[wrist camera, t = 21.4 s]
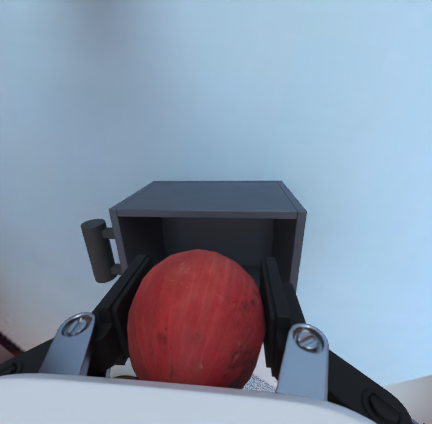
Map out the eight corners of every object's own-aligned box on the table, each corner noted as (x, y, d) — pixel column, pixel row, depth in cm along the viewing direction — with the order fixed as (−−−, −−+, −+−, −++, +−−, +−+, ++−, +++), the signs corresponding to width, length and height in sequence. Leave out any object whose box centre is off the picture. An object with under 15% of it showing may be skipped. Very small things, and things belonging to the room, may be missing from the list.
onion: (266, 231, 12) (313, 403, 4) (249, 310, 14) (261, 516, 7) (162, 216, 12) (43, 356, 5) (161, 296, 14) (77, 478, 7)
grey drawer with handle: (129, 263, 28) (83, 318, 20) (112, 181, 25) (47, 208, 16) (274, 268, 27) (290, 332, 18) (281, 180, 23) (307, 211, 14)
